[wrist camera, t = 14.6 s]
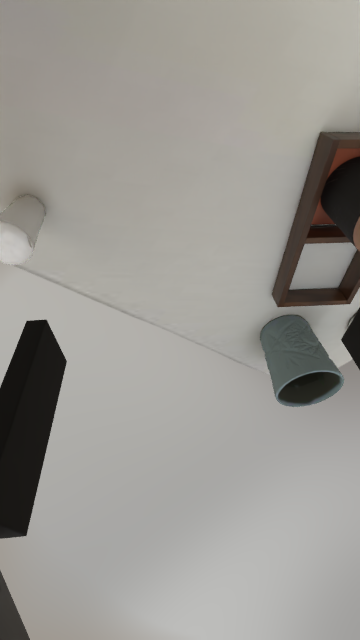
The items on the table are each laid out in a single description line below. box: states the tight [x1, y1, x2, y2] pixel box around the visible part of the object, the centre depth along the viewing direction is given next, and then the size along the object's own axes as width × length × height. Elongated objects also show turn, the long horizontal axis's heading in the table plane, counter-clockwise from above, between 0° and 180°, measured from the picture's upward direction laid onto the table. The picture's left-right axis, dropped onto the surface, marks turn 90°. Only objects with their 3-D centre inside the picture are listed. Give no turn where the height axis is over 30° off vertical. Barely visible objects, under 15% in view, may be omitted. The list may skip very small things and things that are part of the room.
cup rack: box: [272, 132, 360, 307], centre depth 38 cm, size 11×22×3 cm, turn 179°
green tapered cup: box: [260, 315, 344, 407], centre depth 49 cm, size 10×10×12 cm
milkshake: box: [0, 195, 46, 265], centre depth 31 cm, size 5×5×10 cm
